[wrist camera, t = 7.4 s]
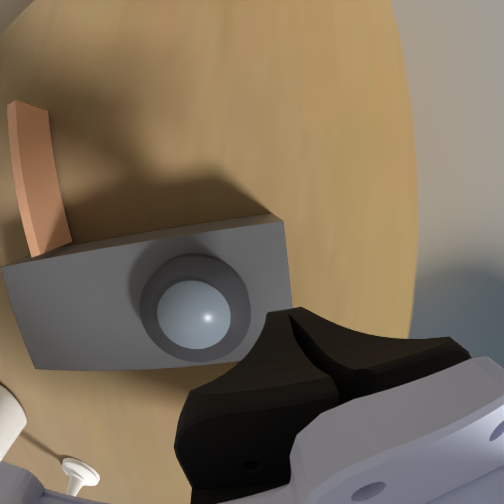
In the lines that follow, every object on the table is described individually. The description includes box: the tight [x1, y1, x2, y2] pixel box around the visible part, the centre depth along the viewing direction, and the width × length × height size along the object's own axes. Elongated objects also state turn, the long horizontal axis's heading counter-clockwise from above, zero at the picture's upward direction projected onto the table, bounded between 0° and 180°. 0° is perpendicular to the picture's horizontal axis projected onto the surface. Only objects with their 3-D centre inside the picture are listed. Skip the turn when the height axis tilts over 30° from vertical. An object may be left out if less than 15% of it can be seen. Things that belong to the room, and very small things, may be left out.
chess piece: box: [62, 458, 100, 497], centre depth 20 cm, size 5×5×10 cm
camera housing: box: [1, 213, 293, 371], centre depth 17 cm, size 8×18×6 cm, turn 98°
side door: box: [7, 100, 72, 257], centre depth 16 cm, size 1×10×4 cm, turn 13°
